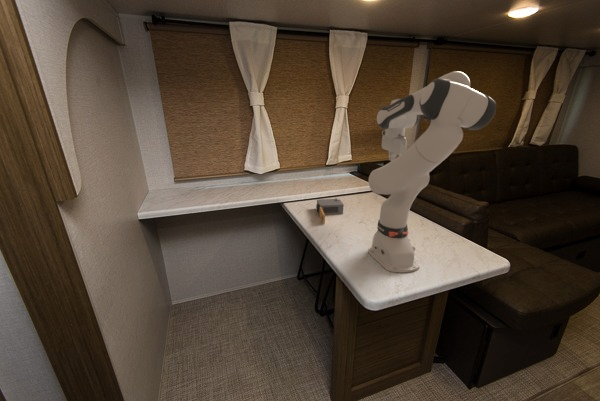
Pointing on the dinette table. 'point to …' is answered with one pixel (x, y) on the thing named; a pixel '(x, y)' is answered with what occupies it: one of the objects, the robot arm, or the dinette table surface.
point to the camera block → (330, 206)
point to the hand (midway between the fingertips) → (391, 160)
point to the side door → (322, 215)
